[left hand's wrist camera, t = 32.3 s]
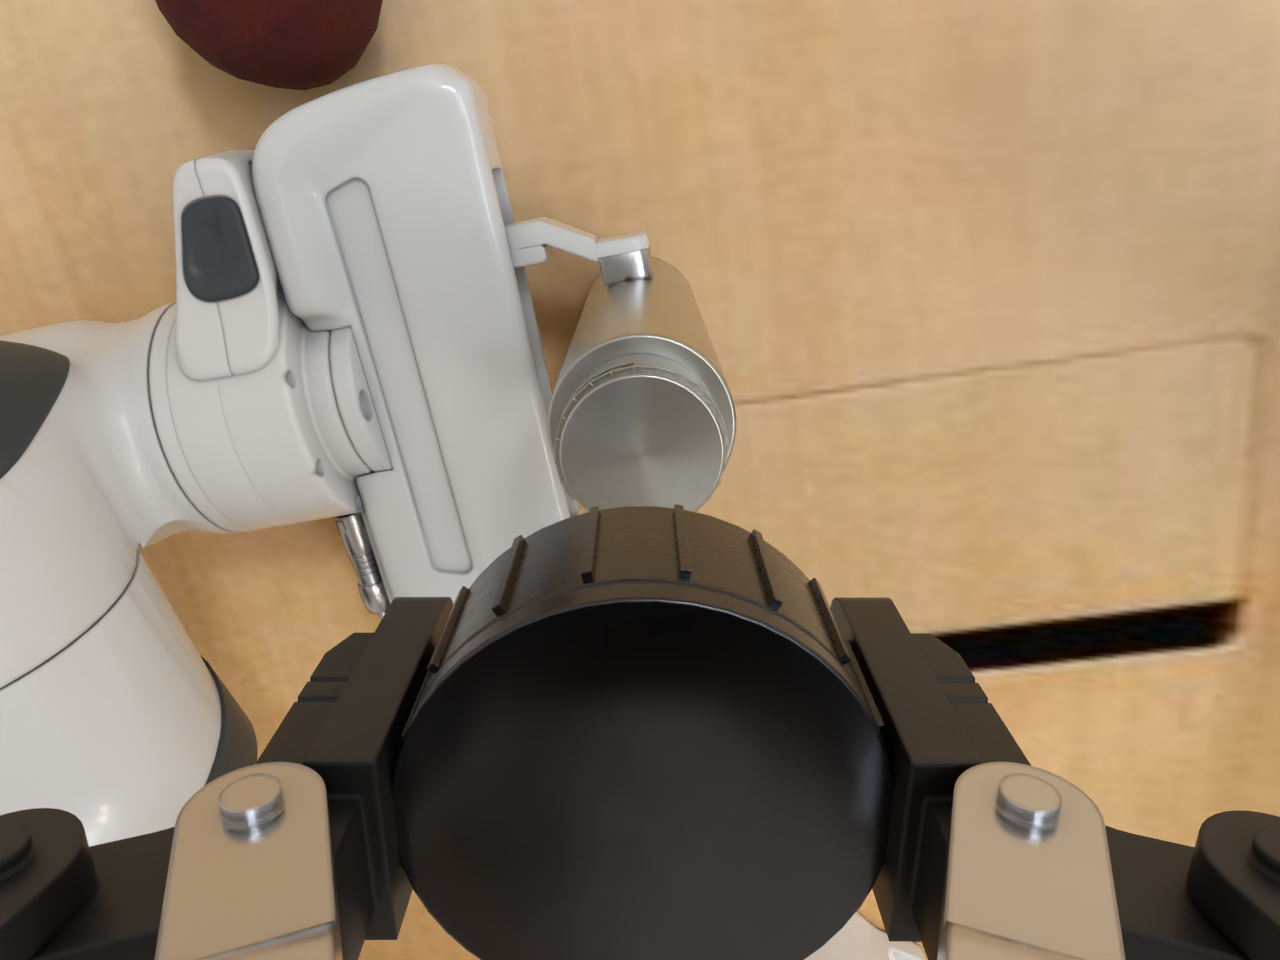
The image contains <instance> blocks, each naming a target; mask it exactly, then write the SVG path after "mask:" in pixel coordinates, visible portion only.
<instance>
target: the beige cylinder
mask: <svg viewBox="0 0 1280 960" xmlns="http://www.w3.org/2000/svg"><path fill="white" fill-rule="evenodd" d="M651 258H652V265H653V271H654V275H653V276H651V277H648V278H643V279H632V278H630V277H627V278H626V280H625V281H624V282H620V283H617V284H611V285H605V286H604V282H603V277H602V273H601V274H600V275H599V276H598V277H597V278H596V280H595V281H594V283H593V285H592V287H591V289H590V291H589V294H588V297H587V299H586V302H585V305H584V308H583V311H582V313H581V316H580V319H579V322H578V324H577V327H576V330H575V333H574V335H573V338H572V341H571V344H570V346H569V349H568V352H567V355H566V357H565V360H564V363H563V366H562V368H561V371H560V374H559V377H558V380H557V382H556V385H555V388H554V391H553V393H552V396H551V399H550V403H549V408H548V414H547V433H548V440H549V445H550V449H551V451H552V454H553V457H554V459H555V464H556V468H557V472H558V475H559V479H560V483H561V484H562V486H563V488H564V489H565V491H566V493H567V494H568V496H569V497H570V499H571V501H573V500H575V499H576V500H577V501H578V503H579V504H580V505H581V506H582V507H583V508H584V509H585V510H587V511H588V512H589V511H590V508H591V507H596V506H599V509H600V510H604V509H611V508H618V507H635V506H656V507H665V508H674V505H675V504H676V505H683V506H684V510H687V511H691V512H696V511H697V510H698V509H699V508H700V507H701V506H702V505H703V504H704V503H705V502H706V501H708V499H709V498H710V496H711V495H712V494H713V492H714V491H715V489H716V488H717V486H718V485H719V484H720V482H721V479H722V476H723V473H724V470H725V467H726V465H727V462H728V459H729V457H730V455H731V452H732V449H733V445H734V441H735V435H736V413H735V406H734V402H733V398H732V395H731V392H730V390H729V387H728V384H727V382H726V379H725V377H724V374H723V371H722V369H721V366H720V364H719V361H718V358H717V356H716V353H715V350H714V348H713V345H712V343H711V340H710V337H709V335H708V332H707V330H706V327H705V324H704V322H703V319H702V317H701V314H700V311H699V309H698V306H697V303H696V301H695V298H694V296H693V293H692V291H691V288H690V286H689V284H688V283H687V281H686V279H685V278H684V277H683V276H682V274H681V273H680V272H679V271H678V270H677V269H675V268H674V267H673V266H671V265H670V264H668V263H666V262H664V261H662V260H659V259H657V258H653V257H651Z"/></svg>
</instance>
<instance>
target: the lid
mask: <svg viewBox="0 0 1280 960" xmlns="http://www.w3.org/2000/svg"><path fill="white" fill-rule="evenodd" d="M427 670H428V672H427V675H426V677H425V680H424V682H423V685H422V687H421V689H420V692H419V694H418V697H417V699H416V702H415V704H414V707H413V709H412V711H411V714H410V716H409V719H408V721H407V724H406V726H405V729H404V731H403V733H402V740H401V743H400V746H399V748H398V751H397V754H396V756H395V762H394V767H393V772H392V777H391V788H392V798H393V807H394V816H395V824H396V833H397V841H398V849H399V855H400V861H401V865H402V867H403V869H404V871H405V873H406V875H407V877H408V879H409V881H410V884H411V886H412V888H413V890H414V891H415V893H416V894H417V896H418V897H419V899H420V900H421V902H422V903H423V905H424V906H425V908H426V909H427V911H428V912H429V913H430V914H431V915H432V916H433V918H434V919H435V920H436V921H437V922H438V923H439V924H440V925H441V927H442V928H443V929H444V930H445V931H446V932H447V933H448V934H449V935H450V936H451V937H453V938H454V939H455V940H456V941H457V942H458V943H459V944H461V945H462V946H463V947H464V948H465V949H466V950H467V951H469V952H470V953H472V954H473V955H475V956H476V957H478V958H479V959H480V960H804V959H806V958H807V957H809V956H810V955H811V954H813V953H814V952H816V951H817V950H818V949H820V948H821V947H822V946H824V945H825V944H826V943H827V942H828V941H829V940H830V939H831V938H832V937H833V936H834V935H835V934H836V933H838V932H839V931H840V930H841V929H842V928H843V927H844V926H845V924H846V923H847V922H848V921H849V920H850V918H851V917H852V916H853V915H854V914H855V912H856V911H857V910H858V909H859V908H860V906H861V905H862V903H863V902H864V900H865V899H866V897H867V895H868V894H869V892H870V891H871V889H872V887H873V886H874V884H875V882H876V880H877V878H878V875H879V873H880V871H881V869H882V866H883V864H884V862H885V858H886V851H887V844H888V836H889V827H890V819H891V811H892V803H893V792H894V774H893V770H892V765H891V761H890V756H889V751H888V749H887V746H886V744H885V741H884V739H883V736H882V734H884V730H885V724H884V721H883V719H882V717H881V714H880V712H879V710H878V707H877V705H876V703H875V700H874V698H873V696H872V693H871V691H870V689H869V686H868V684H867V682H866V680H865V677H864V675H863V673H862V670H861V668H860V666H859V663H858V661H857V659H856V656H855V654H854V652H853V649H852V647H851V645H850V642H849V641H845V642H844V640H843V638H842V635H841V633H840V631H839V628H838V626H837V624H836V621H835V619H834V617H833V614H832V612H831V609H830V607H829V605H828V602H827V600H826V598H825V595H824V593H823V590H822V588H821V586H820V583H819V582H818V581H817V580H816V578H813V579H812V580H810V581H809V579H808V578H807V577H806V576H805V574H804V573H803V572H802V571H801V570H800V569H799V568H798V567H797V566H795V565H794V564H793V563H792V562H791V561H790V560H789V559H788V558H787V557H786V556H785V555H784V554H782V553H781V552H780V551H778V550H777V549H775V548H774V547H772V546H771V545H770V544H768V543H767V542H765V541H764V540H763V537H762V534H761V533H760V532H758V531H756V530H753V531H752V533H750V532H748V531H746V530H744V529H742V528H740V527H738V526H736V525H733V524H731V523H728V522H725V521H723V520H720V519H717V518H715V517H712V516H708V515H704V514H700V513H696V512H691V511H687V510H684V506H683V505H676V504H675V505H674V508H665V507H656V506H635V507H618V508H611V509H604V510H600V509H599V506H596V507H591V508H590V511H589V512H588V513H585V514H581V515H577V516H573V517H569V518H567V519H564V520H562V521H559V522H557V523H554V524H552V525H549V526H547V527H544V528H542V529H540V530H538V531H536V532H535V533H533V534H531V535H529V536H528V537H526V538H523V536H522V535H519V536H518V537H516V538H515V539H514V541H513V544H512V547H511V548H509V549H508V550H507V551H505V552H504V553H503V554H501V555H500V556H499V557H497V558H496V559H495V560H494V561H493V562H492V563H491V564H490V565H489V566H488V567H487V568H486V569H485V570H484V571H483V572H482V573H481V574H480V575H479V576H478V577H477V578H476V580H475V581H474V582H473V584H472V585H471V586H470V588H469V589H468V588H467V587H465V586H463V587H462V588H461V589H460V591H459V593H458V595H457V597H456V600H455V602H454V605H453V607H452V609H451V612H450V614H449V617H448V619H447V621H446V624H445V626H444V629H443V631H442V633H441V636H440V638H439V641H438V643H437V646H436V648H435V650H434V653H433V655H432V658H431V660H430V662H429V665H428V667H427Z"/></svg>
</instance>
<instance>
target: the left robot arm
mask: <svg viewBox="0 0 1280 960" xmlns="http://www.w3.org/2000/svg"><path fill="white" fill-rule="evenodd" d="M453 605H454V604H453V601H452V599H451V598H450V597H395V598H394V599H393V601H392V602H391V604H390V606H389V608H388V610H387V611H386V613H385V615H384V617H383V618H382V620H381V622H380V624H379V626H378V627H377V629H376V631H375V633H353V634H352V635H350V636H349V637H348V638H346V639H345V640H343V641H342V642H341V643H339V644H338V645H337V646H335V647H334V648H332V649H331V650H330V651H328V652H327V653H325V655H324V657H323V658H322V660H321V661H320V663H319V665H318V666H317V668H316V669H315V671H314V672H313V674H312V676H311V680H310V682H307V684H306V685H305V687H304V688H303V690H302V691H301V693H300V695H299V696H298V702H294V704H293V706H292V707H291V709H290V710H289V712H288V714H287V715H286V717H285V718H284V720H283V721H282V723H281V725H280V726H279V728H278V729H277V731H276V732H275V734H274V736H273V737H272V739H271V740H270V742H269V744H268V745H267V747H266V748H265V750H264V751H263V753H262V755H261V756H260V758H259V759H258V761H257V762H256V764H254V765H250V766H247V767H243V768H240V769H237V770H234V771H232V772H229V773H227V774H225V775H223V776H220V777H218V778H217V779H215V780H213V781H211V782H210V783H208V784H207V785H205V786H204V787H202V788H201V789H200V790H198V791H197V792H196V793H195V794H194V795H193V796H192V797H191V798H190V799H189V800H188V801H187V802H186V803H185V805H184V806H183V807H182V809H181V811H180V812H179V814H178V816H177V820H176V823H175V827H172V828H169V829H165V830H161V831H157V832H154V833H149V834H145V835H140V836H135V837H131V838H126V839H122V840H117V841H113V842H108V843H104V844H99V845H95V846H90V847H89V845H88V841H87V837H86V834H85V830H84V827H83V825H82V822H81V821H80V820H79V819H78V818H77V817H76V816H75V815H73V814H72V813H70V812H67V811H64V810H60V809H53V808H34V809H27V810H20V811H16V812H11V813H7V814H4V815H1V816H0V960H358V957H359V955H360V952H361V949H362V946H363V943H364V940H397V937H398V934H399V931H400V928H401V925H402V921H403V918H404V915H405V912H406V908H407V905H408V902H409V899H410V896H411V892H412V889H413V888H412V886H411V884H410V881H409V879H408V877H407V875H406V873H405V871H404V869H403V867H402V865H401V861H400V855H399V849H398V841H397V833H396V824H395V816H394V807H393V798H392V788H391V777H392V772H393V767H394V762H395V756H396V754H397V751H398V748H399V746H400V743H401V740H402V733H403V731H404V729H405V726H406V724H407V721H408V719H409V716H410V714H411V711H412V709H413V707H414V704H415V702H416V699H417V697H418V694H419V692H420V689H421V687H422V685H423V682H424V680H425V677H426V675H427V672H428V670H427V667H428V665H429V662H430V660H431V658H432V655H433V653H434V650H435V648H436V646H437V643H438V641H439V638H440V636H441V633H442V631H443V629H444V626H445V624H446V621H447V619H448V617H449V614H450V612H451V609H452V607H453ZM830 609H831V612H832V614H833V617H834V619H835V621H836V624H837V626H838V628H839V631H840V633H841V635H842V638H843V640H844V642H845V641H849V642H850V645H851V647H852V649H853V652H854V654H855V656H856V659H857V661H858V663H859V666H860V668H861V670H862V673H863V675H864V677H865V680H866V682H867V684H868V686H869V689H870V691H871V693H872V696H873V698H874V700H875V703H876V705H877V707H878V710H879V712H880V714H881V717H882V719H883V721H884V724H885V730H884V734H882V736H883V739H884V741H885V744H886V746H887V749H888V751H889V756H890V761H891V765H892V770H893V774H894V792H893V803H892V811H891V819H890V827H889V836H888V844H887V851H886V858H885V862H884V864H883V866H882V869H881V871H880V873H879V875H878V878H877V880H876V882H875V884H874V886H873V887H872V889H873V892H874V895H875V898H876V901H877V905H878V908H879V911H880V914H881V917H882V920H883V923H884V927H885V930H886V933H887V936H888V939H889V941H922V944H923V947H924V949H925V952H926V955H927V958H928V960H1280V817H1277V816H1274V815H1269V814H1265V813H1259V812H1252V811H1227V812H1222V813H1218V814H1215V815H1213V816H1211V817H1209V818H1207V819H1206V820H1205V821H1204V822H1203V824H1202V825H1201V828H1200V830H1199V833H1198V837H1197V841H1196V845H1195V848H1194V847H1190V846H1185V845H1181V844H1176V843H1171V842H1167V841H1162V840H1158V839H1153V838H1149V837H1144V836H1140V835H1135V834H1131V833H1127V832H1124V831H1120V830H1117V829H1114V828H1111V827H1108V826H1105V823H1104V820H1103V816H1102V814H1101V812H1100V811H1099V809H1098V807H1097V806H1096V805H1095V803H1094V802H1093V801H1092V800H1091V799H1090V798H1089V797H1088V796H1087V795H1086V794H1085V793H1084V792H1083V791H1082V790H1080V789H1079V788H1078V787H1076V786H1075V785H1073V784H1072V783H1070V782H1069V781H1067V780H1065V779H1063V778H1062V777H1060V776H1057V775H1055V774H1053V773H1051V772H1048V771H1046V770H1043V769H1040V768H1037V767H1033V766H1031V765H1030V763H1029V762H1028V760H1027V759H1026V757H1025V755H1024V754H1023V752H1022V751H1021V749H1020V748H1019V746H1018V745H1017V743H1016V741H1015V740H1014V738H1013V737H1012V735H1011V734H1010V732H1009V731H1008V729H1007V727H1006V726H1005V724H1004V723H1003V721H1002V720H1001V718H1000V716H999V715H998V713H997V712H996V710H995V709H994V707H993V706H992V704H991V703H988V698H987V696H986V695H985V693H984V692H983V690H982V688H981V687H980V685H979V684H978V683H975V678H974V676H973V674H972V673H971V671H970V670H969V668H968V667H967V665H966V664H965V662H964V660H963V659H962V657H961V656H960V654H958V653H957V652H956V651H954V650H953V649H951V648H950V647H949V646H947V645H946V644H944V643H943V642H942V641H940V640H939V639H937V638H936V637H935V636H933V635H932V634H911V633H910V632H909V630H908V628H907V626H906V625H905V623H904V621H903V619H902V618H901V616H900V614H899V612H898V610H897V609H896V607H895V605H894V603H893V602H892V600H891V599H890V598H834V599H833V601H832V603H831V607H830Z"/></svg>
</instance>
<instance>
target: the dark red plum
mask: <svg viewBox="0 0 1280 960" xmlns="http://www.w3.org/2000/svg"><path fill="white" fill-rule="evenodd" d="M155 1H156V3H157V6H158V8H159V9H160V11H161V12H162V14H163V15H164V17H165V18H166V20H167V21H168V23H169V24H170V26H171V27H172V29H173V30H174V31H175V33H176V34H177V36H178V37H180V38H181V39H182V40H183V41H184V42H185V43H186V44H188V45H189V46H190V47H191V48H192V49H193V50H195V51H196V52H197V53H198V54H199V55H200V56H201V57H203V58H204V59H205V60H206V61H208V62H209V63H210V64H211V65H212V66H214V67H216V68H218V69H220V70H222V71H224V72H226V73H228V74H230V75H232V76H234V77H236V78H239V79H243V80H247V81H251V82H255V83H259V84H263V85H267V86H272V87H276V88H286V89H299V90H307V89H311V88H315V87H320V86H324V85H328V84H331V83H332V82H334V81H335V80H336V79H338V78H339V77H341V76H342V75H343V74H345V73H346V72H347V71H349V70H350V69H352V68H353V67H354V66H355V65H356V64H357V63H358V61H359V59H360V57H361V56H362V54H363V52H364V50H365V48H366V47H367V45H368V43H369V41H370V40H371V38H372V36H373V35H374V33H375V31H376V29H377V25H378V20H379V15H380V10H381V5H382V0H155Z"/></svg>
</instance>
